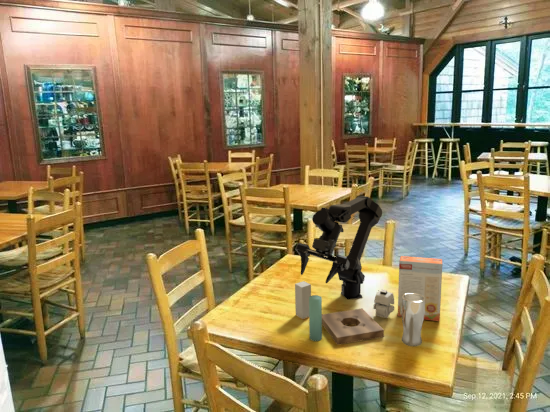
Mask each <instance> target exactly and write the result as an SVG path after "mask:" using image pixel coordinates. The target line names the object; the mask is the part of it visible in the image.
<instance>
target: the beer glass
mask: <svg viewBox="0 0 550 412" xmlns="http://www.w3.org/2000/svg"><path fill="white" fill-rule="evenodd" d="M401 315H402V317H401V320H402V327H403V328H402V329H403V331H402V337H401V342H402V343H403V344H404V345H405V346H407V347H408V346H409V347H418V346H421V345H422V344H423V339H422V328H423V324H424V315H425V298H424V296H422V295H420V294H417V293H406V294H404V295H403V296H402V306H401Z"/></svg>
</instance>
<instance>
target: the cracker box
mask: <svg viewBox="0 0 550 412" xmlns="http://www.w3.org/2000/svg"><path fill="white" fill-rule="evenodd" d="M398 262H399V263H398V264H399V265H398V288H397V289H398V291H397V293H398V294H397V295H398V296H397V316H398V317H399V318H400V317H401V318H402V315H401V306H402V296H403V295H404V294H406V293H417V294H420V295H422V296H424V298H425V315H424V320H426V321H433V322H440V321H441V300H442V283H443V281H442V280H443V259H442V258H434V257H431V258H430V257H420V256H419V257H417V256H405V255H400V258H399V261H398ZM424 320H423V321H424Z"/></svg>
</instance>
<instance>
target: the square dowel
mask: <svg viewBox="0 0 550 412" xmlns="http://www.w3.org/2000/svg"><path fill="white" fill-rule="evenodd" d="M294 294H295V295H294V297H295V299H294V300H295V305H294V306H295V316H297V317H298V318H300V319H302V320H304V319H307V318H309V297H310V296H312V284H310V283H308V282H306V280H305V281H300V282H297V283H294Z"/></svg>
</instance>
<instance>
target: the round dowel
mask: <svg viewBox="0 0 550 412" xmlns="http://www.w3.org/2000/svg"><path fill="white" fill-rule="evenodd" d="M322 302H323V297H322V296H321V295H316V294H315V295H313V294H311V296H310V297H309V317H308V318H309V319H308V322H309V326H308V327H309V330H308V331H309V340H310V341H312V342H319V341H321V340H323V325H322V313H323V309H322V306H323V305H322Z"/></svg>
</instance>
